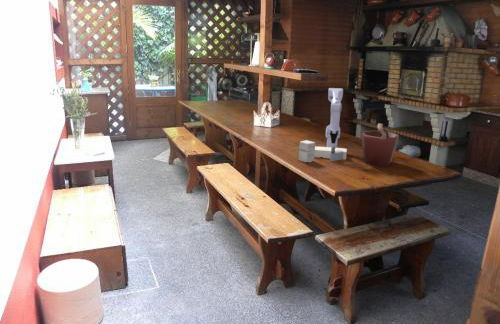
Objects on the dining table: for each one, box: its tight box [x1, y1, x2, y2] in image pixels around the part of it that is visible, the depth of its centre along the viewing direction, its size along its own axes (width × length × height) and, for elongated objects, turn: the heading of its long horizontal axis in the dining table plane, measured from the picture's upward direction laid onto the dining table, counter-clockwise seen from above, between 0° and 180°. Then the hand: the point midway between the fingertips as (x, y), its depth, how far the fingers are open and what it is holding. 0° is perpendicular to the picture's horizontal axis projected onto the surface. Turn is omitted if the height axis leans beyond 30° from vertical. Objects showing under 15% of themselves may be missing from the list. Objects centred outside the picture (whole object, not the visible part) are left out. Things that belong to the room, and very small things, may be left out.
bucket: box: [360, 123, 400, 167], centre depth 261 cm, size 24×22×25 cm
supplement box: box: [298, 139, 316, 163], centre depth 262 cm, size 7×7×13 cm
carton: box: [314, 145, 348, 160], centre depth 275 cm, size 10×24×5 cm, turn 78°
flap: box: [329, 147, 344, 162], centre depth 264 cm, size 2×10×9 cm, turn 121°
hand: (333, 142), depth 271 cm, fingers open, 7 cm apart
